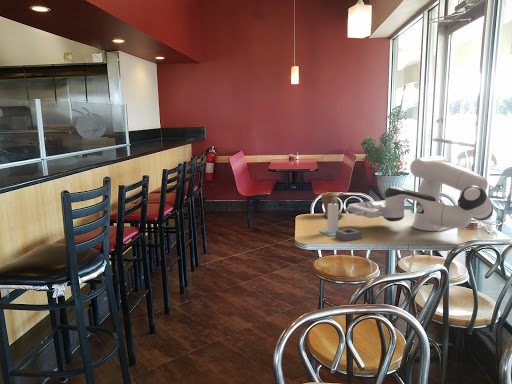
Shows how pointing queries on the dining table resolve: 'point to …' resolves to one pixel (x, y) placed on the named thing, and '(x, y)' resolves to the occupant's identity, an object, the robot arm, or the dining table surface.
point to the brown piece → (327, 200)
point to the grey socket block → (348, 234)
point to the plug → (332, 217)
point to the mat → (328, 233)
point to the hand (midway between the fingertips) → (350, 212)
